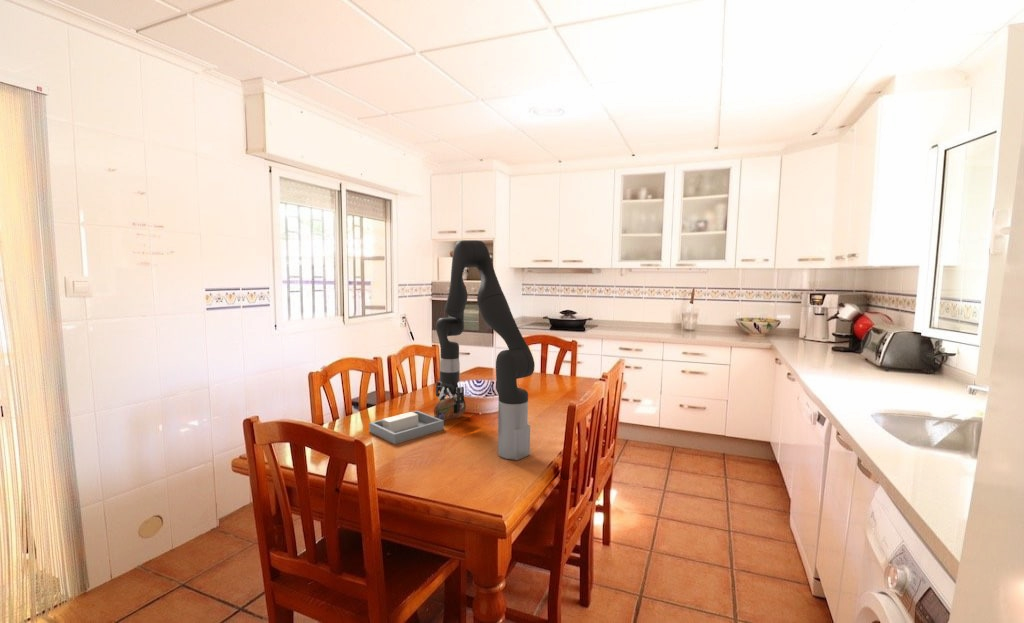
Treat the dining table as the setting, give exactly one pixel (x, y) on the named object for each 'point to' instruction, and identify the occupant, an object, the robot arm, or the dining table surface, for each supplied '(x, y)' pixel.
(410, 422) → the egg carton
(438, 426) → the tray
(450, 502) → the dining table surface
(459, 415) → the tin
